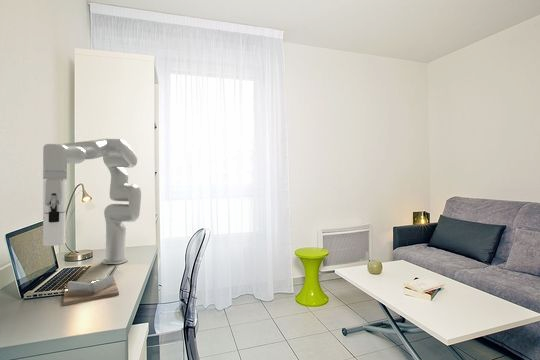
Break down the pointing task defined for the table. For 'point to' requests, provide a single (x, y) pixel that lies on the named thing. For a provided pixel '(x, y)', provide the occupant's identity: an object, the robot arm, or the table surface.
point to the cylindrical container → (54, 230)
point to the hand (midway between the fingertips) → (54, 220)
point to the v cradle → (90, 290)
